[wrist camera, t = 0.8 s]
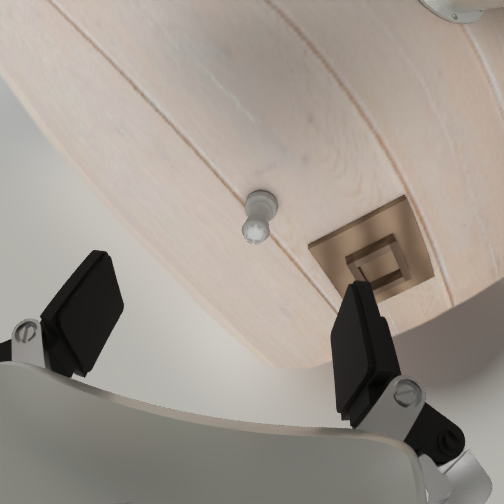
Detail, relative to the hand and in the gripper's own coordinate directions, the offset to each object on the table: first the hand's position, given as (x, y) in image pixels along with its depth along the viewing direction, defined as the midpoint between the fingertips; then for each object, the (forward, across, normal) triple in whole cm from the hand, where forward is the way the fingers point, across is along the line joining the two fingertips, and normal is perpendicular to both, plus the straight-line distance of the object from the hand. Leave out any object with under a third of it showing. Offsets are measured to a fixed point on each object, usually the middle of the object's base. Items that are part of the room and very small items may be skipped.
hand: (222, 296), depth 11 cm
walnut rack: (+28, -19, +16) cm, 37 cm away
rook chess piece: (+29, 0, +9) cm, 30 cm away
